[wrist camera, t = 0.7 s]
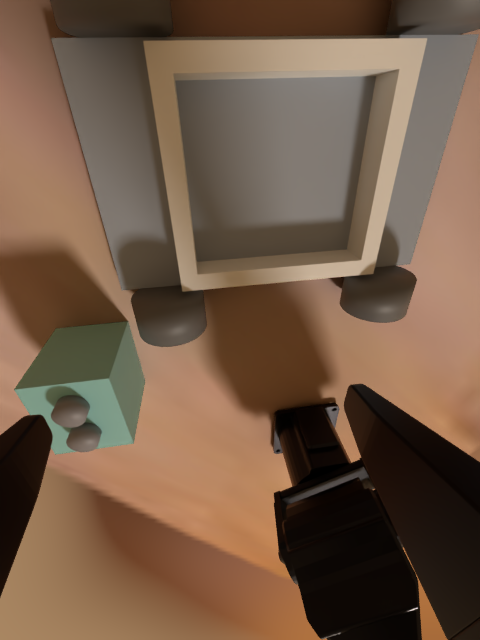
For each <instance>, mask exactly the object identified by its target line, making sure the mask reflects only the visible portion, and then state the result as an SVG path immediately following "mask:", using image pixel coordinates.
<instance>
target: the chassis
mask: <svg viewBox="0 0 480 640" xmlns="http://www.w3.org/2000/svg"><path fill="white" fill-rule="evenodd" d="M50 2H51V6H52V10H53V14H54V17H55V21H56V25H57V27H58V28H59V29H60V30H61V31H63V32H65V33H67V34H69V35H72V36H75V37H78V38H51V40H52V44H53V47H54V51H55V54H56V58H57V61H58V65H59V69H60V72H61V76H62V79H63V83H64V86H65V90H66V93H67V97H68V101H69V104H70V108H71V111H72V115H73V118H74V122H75V125H76V129H77V133H78V136H79V140H80V143H81V147H82V150H83V154H84V157H85V161H86V165H87V168H88V172H89V175H90V179H91V182H92V186H93V189H94V193H95V197H96V200H97V204H98V207H99V211H100V214H101V218H102V221H103V225H104V229H105V232H106V236H107V239H108V243H109V246H110V250H111V253H112V257H113V260H114V264H115V268H116V271H117V275H118V278H119V282H120V285H121V289H122V290H131V289H139V290H138V291H136V292H135V293H134V294H133V296H132V298H131V304H132V307H133V311H134V315H135V318H136V322H137V326H138V330H139V333H140V336H141V338H142V339H143V340H144V341H145V342H146V343H148V344H151V345H154V346H160V347H171V346H178V345H182V344H185V343H188V342H190V341H192V340H194V339H196V338H197V337H199V336H200V335H201V334H202V333H203V332H204V331H205V329H206V326H207V321H206V312H205V303H204V295H203V290H206V289H216V288H227V287H238V286H249V285H259V284H270V283H281V282H292V281H302V280H313V279H324V278H334V277H344V281H343V287H342V293H341V298H340V305H341V307H342V309H343V310H344V311H346V312H347V313H348V314H350V315H352V316H354V317H356V318H359V319H362V320H366V321H370V322H379V323H387V322H394V321H398V320H400V319H402V318H403V317H404V316H405V315H406V313H407V309H408V306H409V303H410V300H411V297H412V294H413V291H414V288H415V284H416V281H417V279H416V277H415V275H414V274H413V273H411V272H410V271H408V270H406V269H404V268H401V267H398V266H396V265H407V264H410V263H411V260H412V257H413V253H414V250H415V247H416V243H417V240H418V236H419V233H420V230H421V226H422V223H423V220H424V216H425V213H426V210H427V206H428V203H429V200H430V196H431V193H432V189H433V186H434V183H435V179H436V176H437V173H438V169H439V166H440V163H441V159H442V156H443V152H444V149H445V146H446V142H447V139H448V136H449V132H450V129H451V126H452V122H453V119H454V116H455V112H456V109H457V105H458V102H459V99H460V95H461V92H462V89H463V85H464V82H465V79H466V75H467V72H468V69H469V65H470V62H471V58H472V55H473V52H474V48H475V45H476V42H477V38H478V35H479V34H477V35H458V34H462V33H467V32H470V31H474V30H477V29H480V0H392V3H391V9H390V15H389V21H388V26H387V32H386V35H354V36H232V37H167V36H169V35H171V34H172V32H173V23H172V14H171V5H170V0H50Z"/></svg>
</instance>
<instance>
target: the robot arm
mask: <svg viewBox="0 0 480 640" xmlns="http://www.w3.org/2000/svg"><path fill="white" fill-rule="evenodd" d="M344 409H345V413H346V415H347V418H348V421H349V424H350V427H351V430H352V432H353V435H354V438H355V441H356V444H357V447H358V450H359V452H360V455H361V457H362V458H359V459H360V460H357V461H355V462H353V463H351V461H350V459H349V457H348V455H347V453H346V451H345V449H344V447H343V445H342V443H341V441H340V438H339V436H338V434H337V432H336V430H335V426H336V421H337V416H338V412H339V407H338V405H337V404H336V403H331V404H324V405H317V406H309V407H302V408H295V409H288V410H280V411H277V412H276V413H275V415H274V436H273V450H274V453H276V454H279V453H283V455H284V459H285V462H286V466H287V469H288V472H289V476H290V479H291V483H292V486H293V487H291V488H288V489H286V490H283V491H281V492H280V491H278V492H275V493H274V500H275V503H274V509H275V518H276V527H277V537H278V546H279V552H278V554H279V558H280V561H281V562H282V563H284V564H285V565H286V568H287V570H288V572H289V574H290V576H291V578H292V580H293V581H294V583H295V584H298V586H299V589H300V592H301V596H302V600H303V604H304V608H305V613H306V616H307V620H308V622H309V623H310V624H311V626H312V628H313V629H314V631H315V632H316V633H317V635H318V636H319V637H320V638H321V639H325V638H327V640H422V636H421V620H420V606H419V591H418V590H419V589H418V580H417V577H416V574H417V576H418V578H419V580H420V583H421V585H422V587H423V589H424V591H425V593H426V595H427V597H428V599H429V602H430V604H431V606H432V608H433V610H434V612H435V614H436V616H437V619H438V621H439V622H440V625H441V627H442V629H443V631H444V633H445V636H446V637H447V639H448V640H480V462H479V461H477V460H476V459H474V458H473V457H471V456H470V455H468V454H467V453H465V452H464V451H462V450H461V449H459V448H458V447H456V446H455V445H453V444H452V443H450V442H449V441H447V440H446V439H444V438H443V437H441V436H440V435H439V434H437V433H436V432H434V431H433V430H431V429H430V428H428V427H427V426H425V425H424V424H422V423H421V422H419V421H418V420H416V419H415V418H413V417H412V416H410V415H409V414H407V413H406V412H404V411H403V410H401V409H400V408H398V407H397V406H395V405H394V404H392V403H391V402H389V401H388V400H386V399H385V398H383V397H382V396H380V395H379V394H378V393H376V392H375V391H373V390H372V389H370V388H369V387H367V386H366V385H364V384H353V385H350V386H349V387H348V390H347V394H346V397H345V401H344ZM52 441H53V435H52V431H51V429H50V427H49V426H48V424H47V422H46V420H45V418H44V416H43V415H40V414H38V415H27V416H24V417H23V418H21V419H20V420H19V421H18V422H16V423H15V424H14V425H13V426H11V427H10V428H9V429H8V430H6V431H5V432H4V433H3V434H1V435H0V596H1V594H2V591H3V589H4V586H5V583H6V581H7V578H8V575H9V573H10V570H11V567H12V564H13V562H14V559H15V556H16V554H17V551H18V548H19V546H20V543H21V541H22V538H23V535H24V532H25V530H26V527H27V525H28V522H29V519H30V517H31V514H32V511H33V509H34V505H35V503H36V500H37V497H38V494H39V490H40V487H41V483H42V479H43V475H44V472H45V468H46V464H47V460H48V456H49V453H50V449H51V445H52ZM372 489H375V490H372ZM403 547H404V548H405V551H406V553H407V555H408V557H409V559H410V561H411V564H412V566H413V568H414V570H415V572H416V574H415V572H414V570H413V568H412V566H411V564H410V562H409V560H408V558H407V556H406V554H405V552H404V550H403Z"/></svg>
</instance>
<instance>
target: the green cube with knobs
mask: <svg viewBox="0 0 480 640" xmlns="http://www.w3.org/2000/svg"><path fill="white" fill-rule="evenodd" d="M144 385H145V379H144V375H143V372H142V368H141V365H140V361H139V358H138V354H137V351H136V347H135V344H134V340H133V337H132V333H131V330H130V326H129V323H128V321H126V322H116V323H106V324H96V325H86V326H76V327H66V328H56V329H55V331H54V332H53V334H52V335H51V337H50V338H49V340H48V341H47V342H46V344H45V345H44V347H43V348H42V350H41V351H40V353H39V354H38V356H37V357H36V358H35V360H34V361H33V363H32V364H31V366H30V367H29V369H28V370H27V372H26V373H25V375H24V376H23V377H22V379H21V380H20V382H19V383H18V385H17V386H16V388H15V389H14V390H15V392H16V393H17V395H18V397H19V398H20V400H21V401H22V403H23V404H24V406H25V408H26V409H27V411H28V412H29V414H30V415H38V414H40V415H43V416H44V418H45V420H46V422H47V424H48V426H49V427H50V429H51V431H52V435H53V441H52V445H51V448H52V450H53V451H54V453H55V455H56V454H63V453H70V452H77V451H78V452H89V451H92V450H94V449H98V448H105V447H113V446H120V445H127V444H134V439H135V433H136V428H137V423H138V417H139V412H140V406H141V401H142V395H143V390H144Z"/></svg>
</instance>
